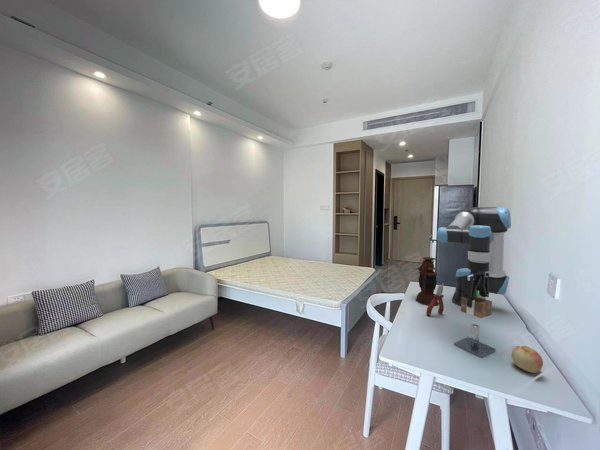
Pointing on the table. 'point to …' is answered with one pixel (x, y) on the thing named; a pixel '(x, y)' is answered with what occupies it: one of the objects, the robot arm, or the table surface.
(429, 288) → the lantern
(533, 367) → the apple
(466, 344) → the plate with upright peg
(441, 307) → the pliers
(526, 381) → the table surface
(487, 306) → the brown boxy piece
